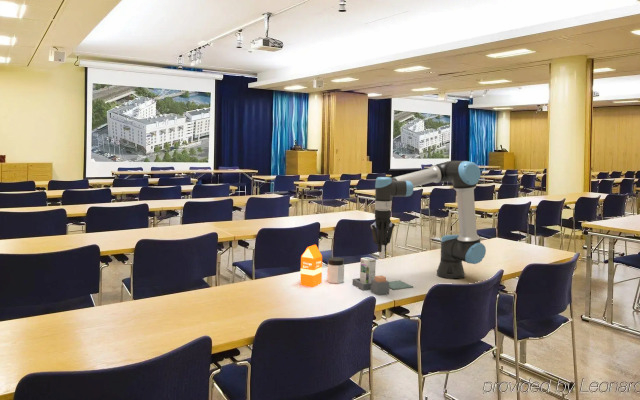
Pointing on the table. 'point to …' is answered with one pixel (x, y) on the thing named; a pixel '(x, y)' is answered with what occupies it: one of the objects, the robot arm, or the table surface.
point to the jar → (335, 270)
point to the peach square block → (380, 278)
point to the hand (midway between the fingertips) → (381, 258)
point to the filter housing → (373, 286)
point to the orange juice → (311, 267)
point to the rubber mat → (398, 285)
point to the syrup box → (367, 270)
